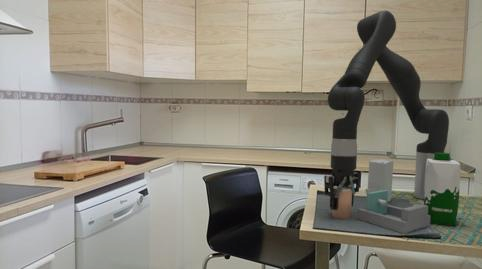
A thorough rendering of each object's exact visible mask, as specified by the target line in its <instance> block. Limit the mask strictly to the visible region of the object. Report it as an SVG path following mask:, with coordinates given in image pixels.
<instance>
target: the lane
mask: <svg viewBox="0 0 482 269" xmlns="http://www.w3.org/2000/svg"><path fill="white" fill-rule="evenodd" d="M430 217H431V216H430V215H428V206H427V205H424V204H422V203H421V204H417V205H413V206H412V205H411V206H409V207H405V208H404V207H403V208H402V207H398V206H395V205H390V204H387V213H385V214H379V213H376V212H372V211H369V210H366V208H362V207H361V208H357V218H356V219H357V220H360V221H363V222H366V223H370V224H373V225H376V226H379V227H381V228H385V229H388V230H391V231H394V232H398V233H401V234H404V235H406V234H409V233H411V232H412V233H413V232H415V231H414V230H416V231H418V230H417V229H419V230H421V229H420V228H422V229H424V228H423V227H425V226H429V227H430V226H431V223H430ZM425 228H426V227H425Z"/></svg>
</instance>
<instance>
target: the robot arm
mask: <svg viewBox="0 0 482 269" xmlns="http://www.w3.org/2000/svg"><path fill="white" fill-rule="evenodd" d="M356 30H357V34H358V35H357V36H358V38H359V39H360V41H361V42H362V43H363V46H362V47H361V48H360V49H359V50H358V51H357V52H356V53H355V55H354V56H352V58H351V60H350V61H349V63H348V65H347V67H346V70H345V71H344V74H343V75H342V76H341V77H340V78H339V79H338V80H337V82H335V84H334V85H333V86H332V87H331V88H330V90H329V92H328V96H327V104H328V107H329V108H330V109H331V110H334V111H341V112H342V111H343V112H344V111H346V112H347V113H346V115H345V116H344V117H342V118H341V117H340V118H337V119H334V120H333V123H332V136H331V137H332V138H331V144H330V145H331V146H330V148H331V149H330V168H331V169H332V172H331V175H327V174H326V175H324V176H323V182H324V183H323V184H324V195H325V196H328V197H329V207H330V210H331V211H332V210H337V209H338V198H337V197H338V194H339V192H340V191H341V190H342V188H343V187H348V188H351V190H352V205H351V208H353V206H354V204H355V203H354V200H355V199H354V198H355V194H356V193H359V191H360V187H361V185H360V184H361V175H362V174H361V173H360V172H356V169H357V162H358V161H357V160H358V159H357V158H358V144H357V143H358V142H357V139H358V138H357V137H358V136H357V135H358V124H359V121H360V117H361V114H362V111H363V108H364V105H365V101H366V100H365V99H366V97H365V93H364V90H363V89H362V88H363V87H365V85H366V84H367V82H368V79H369V77H370V74H371V72H372V69H373V68H374V66H375V63H376V62H377V64H378V65H379V67H380V68H381V70H382V72H383V73H384V75H385V77H386V78H387V80H388V82H389V84H390V86H391V87H392V89H393V90H394V91H395V93H396V95H397V96H398V98H399V100H400V101H401V103H402V105H403V107H404V109H405V112H406V113H407V115H408V118H409V120H410V122H411V125H412V126H413V129H415V131H416V132H418V133H419V134H423V135H425V134H426V135H427V139H426V140H425V141H423V142H420V143H418V144H417V145H416V153H415V155H416V156H415V171H414V172H415V173H414V189H413V190H414V191H413V197H414V198H417V199H419V200H424V187H425V173H426V162H427V159H434V153H436V152H440V153H445V150H446V147H447V144H448V136H449V126H450V119H449V114H448V112H446V111H445V110H444V109H437V108H436V109H435V108H433V109H430V108H429V109H428V108H426V107H425V105H423V103H422V101H421V98H420V91H421V85H422V84H421V83H422V82H421V78H420V76H419V73H418V72H417V70H416V69H415V66H414V65H413V63H412V62H410V61H409V60H408V59H407V58H405V57H403V56H401V55H400V54H397V53H396V52H394V51H393V50H391V49H390V48H389V47H387V44H388V43H389V42H390V41H391V39H392V38H393V36H394V35H395V32H396V30H397V21H396V18H395V16H394V14H393V13H392V12H390V11H389V10H381V11H378V12H375V13H373V14H371V15H368V16H366V17H364V18H362V19H360V20H359V21H358V22H357V25H356ZM335 190H336V191H335ZM334 191H335V193H334Z"/></svg>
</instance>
